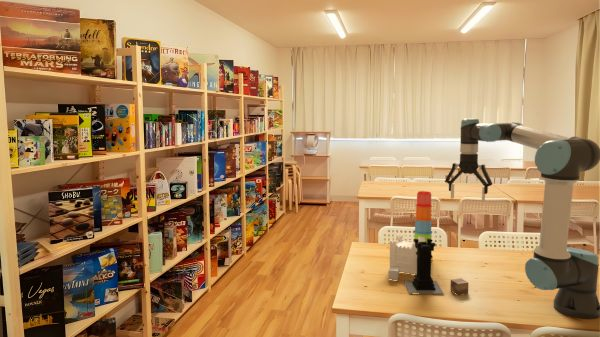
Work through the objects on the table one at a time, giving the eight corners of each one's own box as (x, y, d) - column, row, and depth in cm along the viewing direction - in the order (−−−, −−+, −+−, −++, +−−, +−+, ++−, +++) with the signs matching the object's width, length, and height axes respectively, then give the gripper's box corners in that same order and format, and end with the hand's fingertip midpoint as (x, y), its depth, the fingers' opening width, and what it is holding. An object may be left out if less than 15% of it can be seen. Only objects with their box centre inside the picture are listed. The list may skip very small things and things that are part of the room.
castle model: (388, 271, 210) (388, 240, 208) (396, 262, 222) (397, 233, 220) (418, 276, 203) (419, 244, 201) (425, 266, 215) (426, 236, 214)
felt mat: (443, 294, 182) (443, 293, 182) (409, 294, 183) (409, 292, 183) (436, 281, 196) (436, 280, 196) (403, 281, 197) (403, 280, 197)
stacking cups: (407, 257, 229) (408, 191, 225) (423, 254, 233) (424, 189, 229) (421, 263, 220) (422, 194, 215) (437, 260, 224) (438, 193, 220)
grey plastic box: (397, 282, 197) (397, 271, 196) (388, 281, 198) (388, 270, 198) (399, 277, 203) (399, 266, 202) (390, 276, 204) (390, 265, 203)
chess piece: (435, 290, 185) (436, 243, 183) (416, 290, 186) (417, 244, 183) (430, 282, 193) (431, 238, 191) (412, 283, 194) (412, 238, 191)
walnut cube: (468, 294, 183) (468, 282, 182) (457, 295, 181) (457, 283, 181) (460, 289, 188) (461, 278, 187) (450, 290, 186) (450, 279, 186)
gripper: (500, 153, 196) (498, 200, 198) (443, 151, 209) (442, 195, 212) (497, 154, 189) (495, 203, 192) (438, 152, 203) (437, 198, 206)
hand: (467, 199), depth 202 cm, fingers open, 13 cm apart
